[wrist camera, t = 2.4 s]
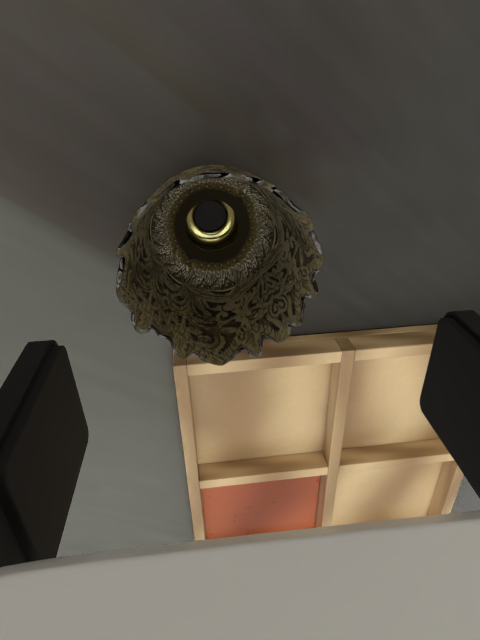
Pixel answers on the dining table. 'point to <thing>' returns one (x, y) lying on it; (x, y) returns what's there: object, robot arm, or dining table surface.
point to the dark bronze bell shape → (218, 265)
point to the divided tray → (313, 434)
